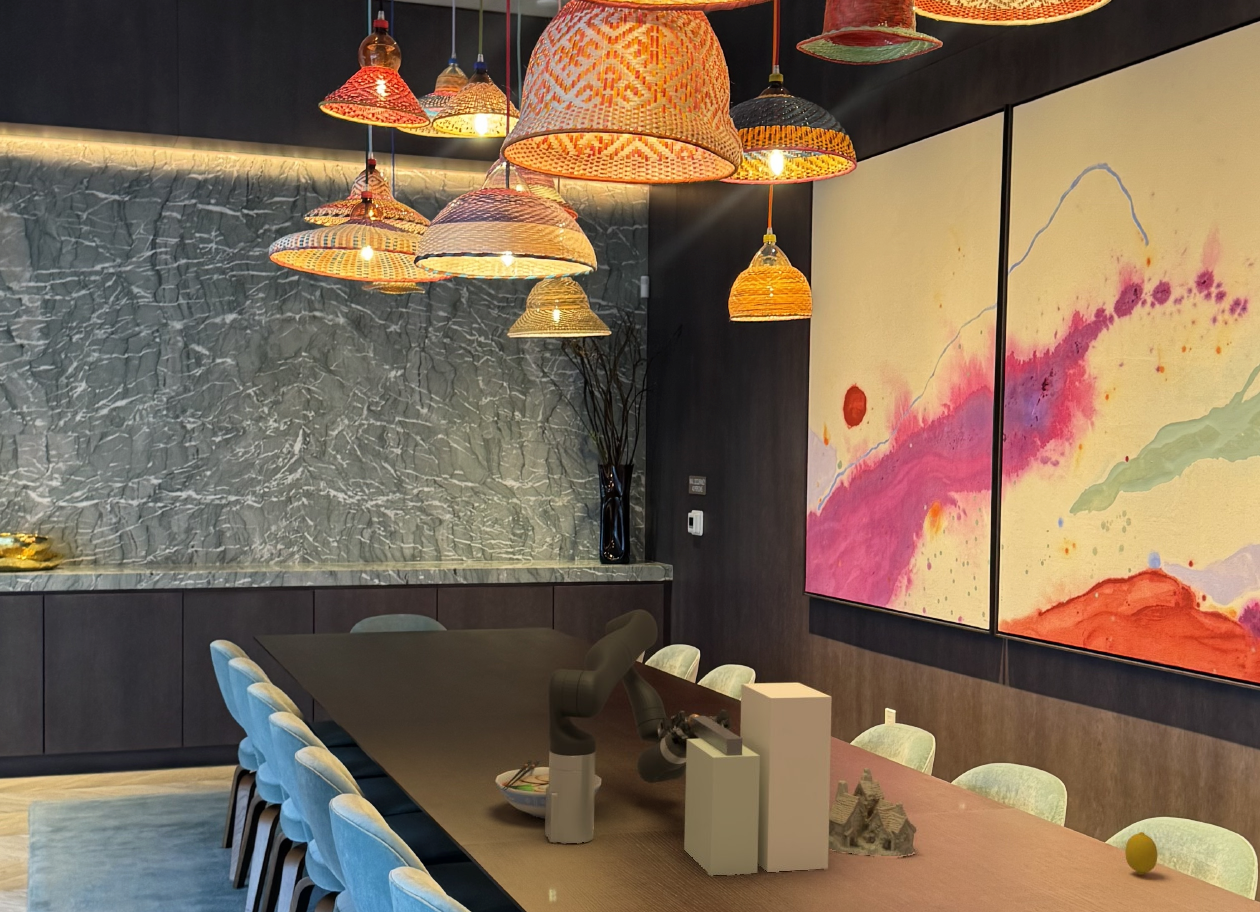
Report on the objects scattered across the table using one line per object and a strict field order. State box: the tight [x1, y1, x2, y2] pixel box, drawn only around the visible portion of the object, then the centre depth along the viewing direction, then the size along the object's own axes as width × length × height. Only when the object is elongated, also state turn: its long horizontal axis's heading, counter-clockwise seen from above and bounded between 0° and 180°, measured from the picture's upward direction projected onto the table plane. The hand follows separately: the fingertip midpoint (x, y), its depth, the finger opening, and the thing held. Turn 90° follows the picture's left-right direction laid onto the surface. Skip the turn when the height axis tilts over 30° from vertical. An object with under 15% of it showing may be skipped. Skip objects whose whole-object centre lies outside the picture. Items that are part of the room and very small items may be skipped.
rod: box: [687, 713, 742, 756], centre depth 239 cm, size 3×24×3 cm, turn 15°
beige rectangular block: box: [683, 739, 760, 877], centre depth 234 cm, size 9×16×22 cm, turn 15°
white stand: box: [739, 682, 833, 873], centre depth 237 cm, size 12×16×32 cm
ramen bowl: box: [494, 759, 602, 819], centre depth 264 cm, size 25×23×8 cm
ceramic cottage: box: [828, 767, 917, 856], centre depth 245 cm, size 16×16×15 cm
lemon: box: [1124, 831, 1158, 876], centre depth 232 cm, size 6×6×8 cm
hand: (703, 714), depth 245 cm, fingers open, 8 cm apart
